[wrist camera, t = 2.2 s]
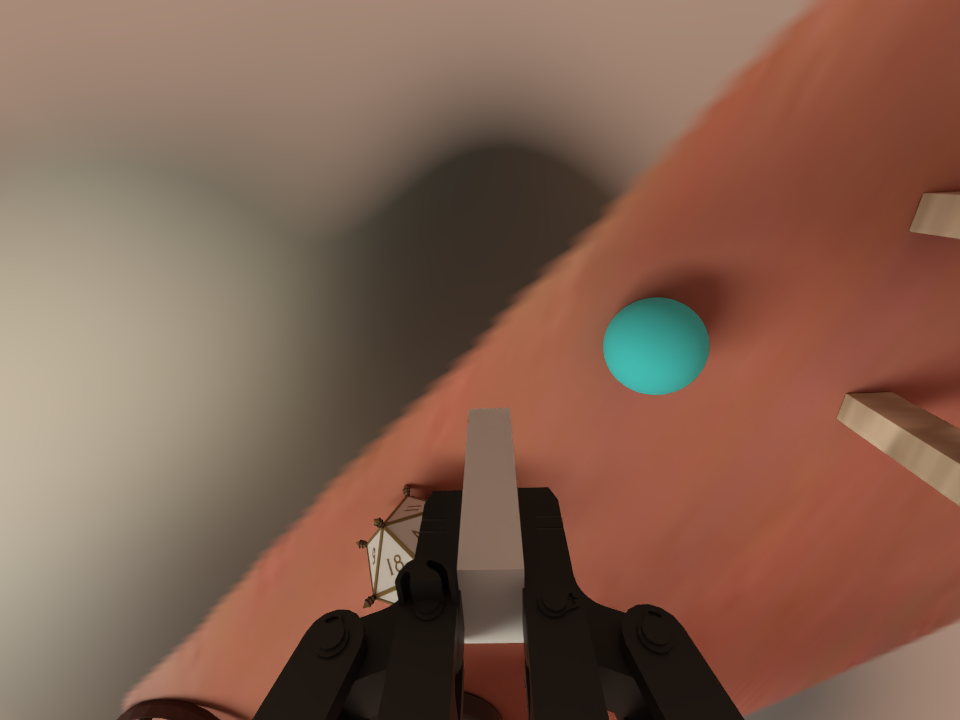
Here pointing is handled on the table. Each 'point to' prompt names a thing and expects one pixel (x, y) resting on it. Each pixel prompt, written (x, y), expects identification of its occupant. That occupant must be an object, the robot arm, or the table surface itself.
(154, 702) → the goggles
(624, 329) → the ball
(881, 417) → the bridge
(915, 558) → the table surface
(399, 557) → the game die
